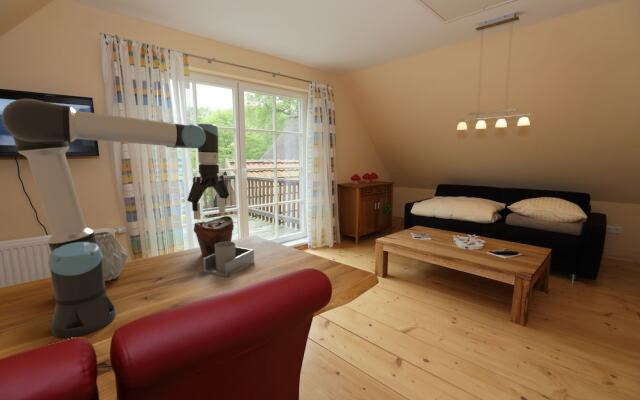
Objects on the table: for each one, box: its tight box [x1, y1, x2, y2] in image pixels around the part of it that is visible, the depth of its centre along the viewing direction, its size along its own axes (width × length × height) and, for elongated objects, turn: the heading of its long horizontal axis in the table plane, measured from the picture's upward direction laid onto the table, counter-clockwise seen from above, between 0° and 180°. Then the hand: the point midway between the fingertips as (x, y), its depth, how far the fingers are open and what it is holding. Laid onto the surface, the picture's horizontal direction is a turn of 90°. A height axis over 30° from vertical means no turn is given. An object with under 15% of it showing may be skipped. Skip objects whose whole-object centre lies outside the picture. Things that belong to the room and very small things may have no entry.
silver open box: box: [202, 245, 255, 278], centre depth 132 cm, size 18×12×6 cm
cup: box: [215, 241, 236, 270], centre depth 129 cm, size 8×8×10 cm
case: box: [193, 215, 235, 258], centre depth 147 cm, size 18×20×18 cm
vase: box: [94, 231, 130, 282], centre depth 119 cm, size 16×16×18 cm
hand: (210, 216), depth 122 cm, fingers open, 13 cm apart
